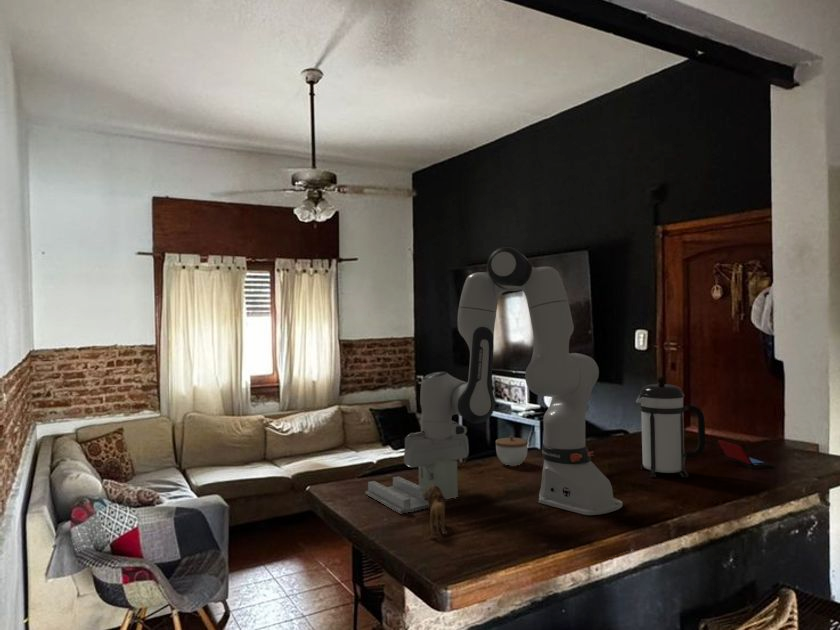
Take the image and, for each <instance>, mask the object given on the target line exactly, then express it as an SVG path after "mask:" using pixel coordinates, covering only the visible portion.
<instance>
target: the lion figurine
mask: <svg viewBox="0 0 840 630" xmlns="http://www.w3.org/2000/svg"><path fill="white" fill-rule="evenodd" d="M422 496H423V498H424V499H425V501H428V503H429V507H430V508H429V509H430V510H429V512H430V513H429V524H428V525H429V526H430V536H429V538H430V539H435V538H436V535H435V529H436V532H437V534H438V537H439V539H440V540H443V539H444V537H443V535H447V534H448V530H446V528H445V525H446V518H445V517H446V516H445V515H446V510H445V509H446V503H447V501H446V500H445V497H444V496H443V493H442V492H441V491H440V488H439V487H437V486H436V485H429V489H428V490H427V491H426V492H425V493H423V494H422ZM439 524H440V525H441V527H440V529H441V532H442V534H443V535H442V534H441V532H440V529H439Z"/></svg>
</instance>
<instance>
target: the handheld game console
mask: <svg viewBox="0 0 840 630" xmlns="http://www.w3.org/2000/svg"><path fill="white" fill-rule="evenodd" d="M717 442H718V444H719V445H720V447H721V449H722V450H723V452H724V453H725V455H726V460H727V459H730V460H733V461H735V462H738V463H737V464H739V463H741V464H742V466H743V465H744V467H746V466H747V467H746V468H748V469H751V468H753V469H770V468H772V465H773V464H772V463H769V462H767V461H764V460H761V459H757V458H755V457H752V456H749V455H748V453H747V452H746V450H745V449H744V448H743V446H742V445H739V444H736V443H732V442H728V441H726V440H722V439H721V438H720V439H717ZM735 462H734V463H735ZM741 464H740V465H741ZM769 467H770V468H769Z"/></svg>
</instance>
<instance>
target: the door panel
mask: <svg viewBox="0 0 840 630" xmlns="http://www.w3.org/2000/svg"><path fill="white" fill-rule="evenodd" d="M417 468H418V471H417V472H418V485H419V486H421V487H423V488H426V489H429V485H436V486H437V487H439V488H440V491H441V492H442V493H443V496H444V497H445V499H450V498H454V499H457V498H456V497H458V498H459V493H458V492H459V491H458V488H459V487H458V483H459V482H458V461H457V460H451V459H448V458H442V459H437V460H435V463H434V464H430V468H428V469H429V471H430V473H433V479H432V480H426V475H425V472H424V470H423V469H422V466H419V467H417ZM450 500H451V499H450Z"/></svg>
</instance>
